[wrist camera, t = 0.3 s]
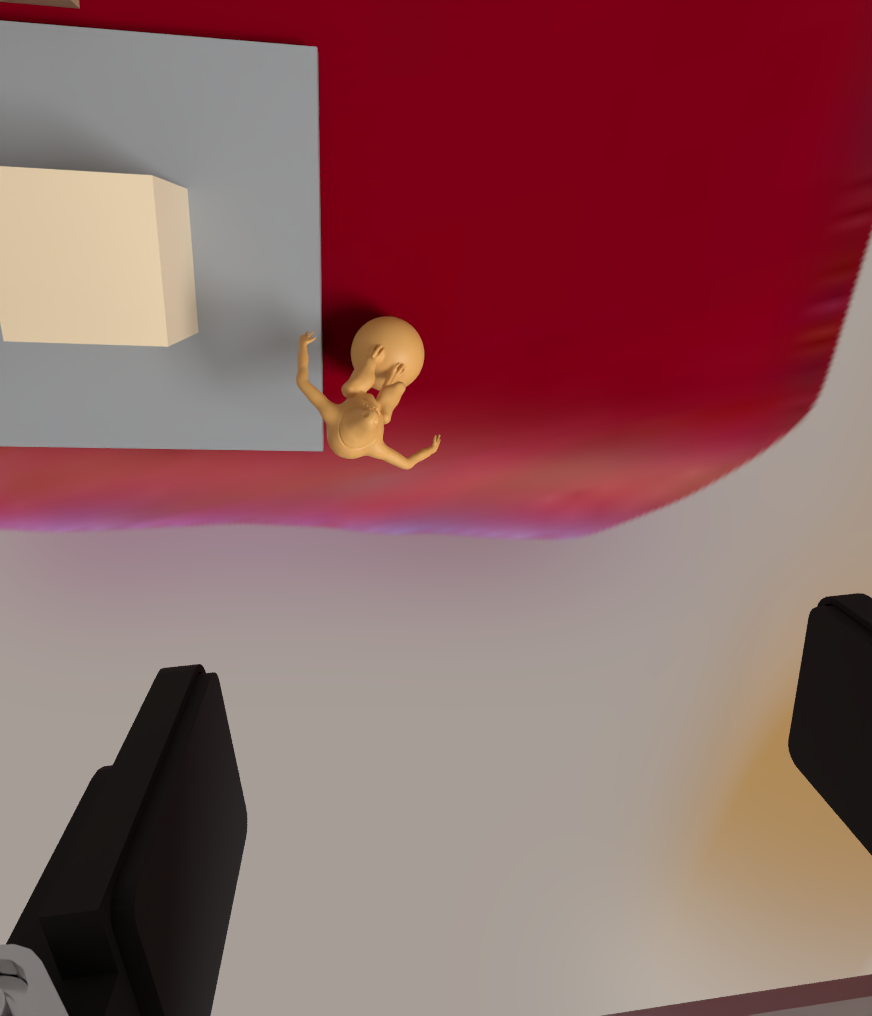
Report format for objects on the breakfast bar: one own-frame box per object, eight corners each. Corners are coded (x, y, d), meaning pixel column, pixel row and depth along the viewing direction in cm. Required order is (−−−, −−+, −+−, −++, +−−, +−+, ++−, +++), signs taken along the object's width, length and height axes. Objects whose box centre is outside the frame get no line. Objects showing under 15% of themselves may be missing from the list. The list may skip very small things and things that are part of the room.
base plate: (-125, 16, 30) (-259, -50, 24) (318, 52, 33) (307, 2, 26) (-37, 440, 37) (-121, 479, 31) (323, 446, 40) (316, 484, 33)
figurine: (462, 369, 39) (503, 415, 28) (397, 446, 40) (411, 520, 29) (350, 271, 36) (345, 278, 25) (284, 357, 38) (251, 400, 26)
